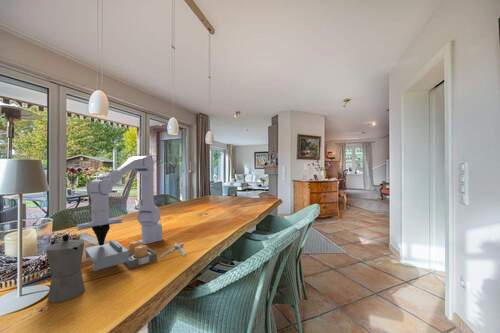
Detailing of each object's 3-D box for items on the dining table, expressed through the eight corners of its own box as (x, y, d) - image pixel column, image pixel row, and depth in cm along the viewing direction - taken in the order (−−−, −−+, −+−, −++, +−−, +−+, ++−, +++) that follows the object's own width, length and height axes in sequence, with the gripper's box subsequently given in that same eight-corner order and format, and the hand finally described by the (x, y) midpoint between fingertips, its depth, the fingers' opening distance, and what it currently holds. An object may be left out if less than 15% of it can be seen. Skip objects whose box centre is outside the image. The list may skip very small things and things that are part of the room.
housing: (144, 251, 101) (143, 244, 101) (157, 260, 90) (157, 253, 90) (119, 258, 94) (119, 250, 94) (130, 269, 83) (130, 261, 83)
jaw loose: (138, 252, 97) (139, 240, 98) (142, 255, 94) (142, 242, 94) (127, 255, 95) (127, 242, 95) (130, 258, 91) (130, 245, 91)
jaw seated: (145, 257, 92) (144, 244, 92) (149, 260, 89) (148, 246, 89) (133, 260, 89) (133, 247, 89) (137, 264, 86) (137, 250, 86)
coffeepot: (96, 291, 68) (94, 233, 68) (58, 309, 60) (56, 242, 60) (71, 280, 76) (69, 227, 76) (34, 294, 67) (32, 235, 67)
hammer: (159, 255, 93) (168, 243, 108) (159, 259, 93) (168, 246, 108) (184, 253, 94) (189, 241, 109) (184, 257, 94) (189, 244, 109)
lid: (117, 250, 94) (116, 237, 94) (128, 261, 82) (128, 246, 82) (85, 258, 86) (85, 244, 86) (93, 271, 75) (93, 255, 75)
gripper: (78, 214, 79) (79, 252, 79) (123, 208, 89) (124, 242, 89) (75, 212, 84) (76, 247, 84) (119, 206, 94) (119, 238, 94)
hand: (101, 244), depth 87 cm, fingers closed
